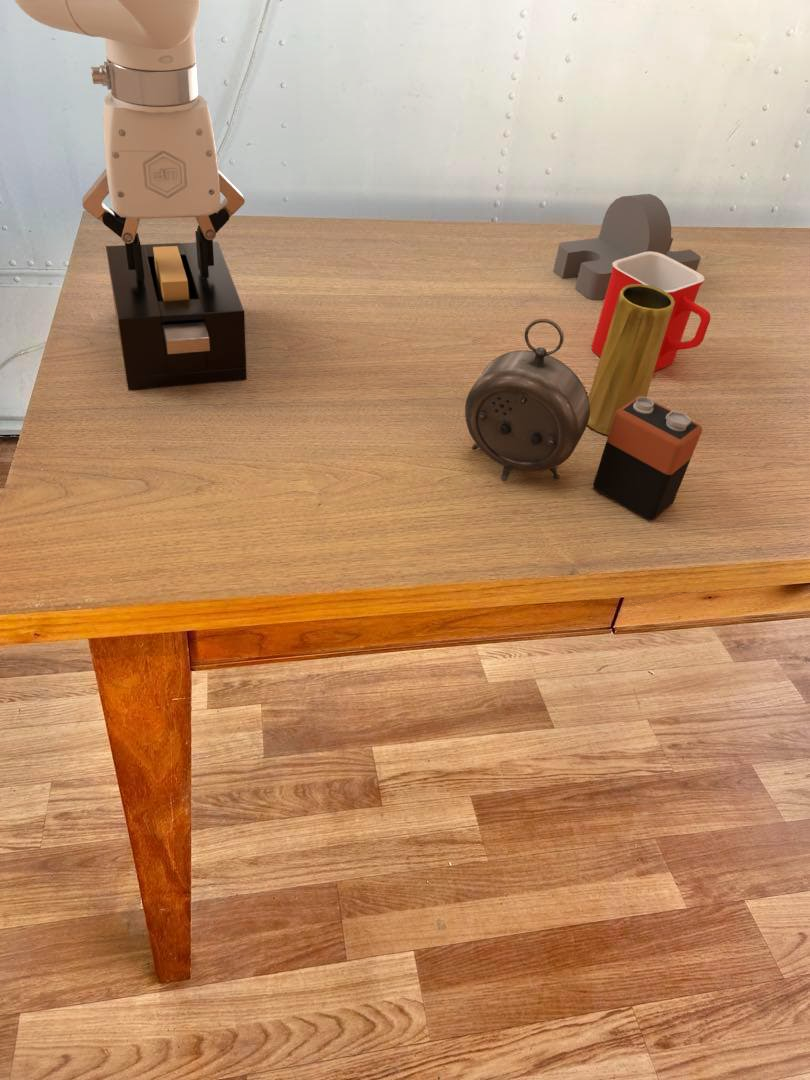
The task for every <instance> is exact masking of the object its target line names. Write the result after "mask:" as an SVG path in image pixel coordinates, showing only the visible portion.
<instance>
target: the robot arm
mask: <svg viewBox="0 0 810 1080" xmlns="http://www.w3.org/2000/svg"><path fill="white" fill-rule="evenodd" d="M13 1H14V2H15V3H16V5H17V6H18V7H19V8H20V9H21V11H23V12H24V13H25V14H26V15H27V16H29V18H31V19H33V20H34V21H36V22H37V23H40V24H42V25H44V26H47V27H50V28H52V29H55V30H58V31H59V30H60V31H63V32H64V31H65V32H68V33H72V34H73V33H74V34H79V35H83V36H88V37H92V38H93V37H94V38H102V39H104V44H105V53H106V61H103V64H101V65H99V66H90V71H91V72H90V73H91V78H92V79H91V80H92V84H93V85H101V86H102V87H107V90H110V91H111V92H108V93H107V94H106V95H105V96H104V102H103V114H102V115H103V116H102V124H103V125H102V126H103V151H104V162H105V169H104V170H103V172H102V173H101V174H100V175H99V177H97V179H96V180H95V181H94V183H93V184H92V185H91V187H90V188H88V190H87V191H86V192H85V194H84V195H83V197H82V198H81V205H82V207H83V209H84V210H85V211H87V212H88V213H89V214H91V216H93V217H94V218H95V219H97V220H99V221H101V222H102V223H103V225H104V226H106V227H107V228H108V229H109V230H110V231H112V232H113V233H114V234H115V235H116V236H118V237H119V238H120V239H121V241H122V242H123V243H124V245H125V249H126V257H127V264H128V270H135V272H136V276H137V281H143V280H145V278H144V269H143V261H142V252H141V245H142V244H141V240H140V236H139V233H138V232H137V231H138V227H139V225H140V221H141V220H151V219H152V220H153V219H179V218H181V219H182V218H184V219H185V218H195V220H196V221H197V222H196V223H197V224H198V225H197V228H196V230H195V231H194V233H195V242H196V248H197V262H198V267H199V270H200V273H201V276H202V277H204V278H209V270H208V266H214V255H213V242H214V241H213V240H214V239H216V237H217V233H219V232H220V230H221V229H223V227H224V226H225V225H226V224H227V223H228V221H229V220H230V218H231V217H232V215H234V214H235V213H237V212H238V210H240V208H241V207H243V206H244V204H245V200H246V199H245V198H244V195H243V194H242V192H241V191H240V190H239V189H238V188H237V187H236V186H235V185H234V184H233V183H232V182H231V180H229V179H228V178H227V177H226V176H225V175H224V174H223V173H222V172H221V171H220V170H219V165H218V154H217V147H216V139H215V133H214V125H213V121H212V117H211V112H210V108H209V104H208V102H207V100H206V99H205V98H204V96H202V95H201V94H199V87H198V73H197V72H198V71H197V70H198V69H197V57H196V56H197V55H196V40H195V28H196V27H197V22H198V20H199V17H200V10H201V0H13ZM108 195H109V199H110V203H111V206H112V208H110V207H108V206H107V205H106V204H105V203H104V202H103V201H104V200H105V199H106V197H107V196H108ZM221 195H223V196H224V199H223V200H222V201H221Z"/></svg>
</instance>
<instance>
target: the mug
mask: <svg viewBox="0 0 810 1080" xmlns="http://www.w3.org/2000/svg"><path fill="white" fill-rule="evenodd" d="M705 280H706V278H705V276H704V275H703V274H702V273H700V272H698V270H697V271H695V270H693V269H691V268H689V267H687V266H685V265H683V264H681V263H679V262H677V261H675V260H673V259H671V258H670V257H668V256H666V255H663V254H661V253H658V252H651V251H649V252H643V253H639V254H636V255H633V256H629V257H626V258H623V259H619V260H616V261H614V262H613V263H612V274H611V278H610V282H609V285H608V289H607V293H606V296H605V299H603V304H602V307H601V310H600V315H599V319H598V322H597V325H596V329H595V333H594V336H593V340H592V343H591V351H592V352H593V353H594V354H595V355H597V356H598V357H599V358H600V357H601V354H602V351H603V348H604V345H605V342H606V339H607V335H608V331H609V328H610V324H611V321H612V317H613V314H614V311H615V307H616V304H617V301H618V298H619V294H620V292H621V290H622V289H623V288H624V287H626V286H628V285H633V284H644V285H650V286H653V287H656V288H659V289H662V290H663V291H665V292H667V293H668V294H670V295H671V296H672V297H673V299H674V302H675V303H674V307H673V311H672V314H671V317H670V320H669V323H668V326H667V329H666V332H665V335H664V338H663V342H662V345H661V348H660V351H659V355H658V358H657V362H656V365H655V369H654V372H657V371H658V370H661V369H663V368H666V367H669V366H671V365H672V364H673V363H674V361H675V358H676V355H677V352H678V351H683V350H690V349H693V348H696V347H699V346H700V345H701V344H702V343H703V341H704V339H705V337H706V336H705V335H706V333H707V331H708V328H709V325H710V322H711V314H710V312H709V311H708V310H707V308H704V307H702V306H700V305H699V304H697V303H696V298H697V296H698V293H699V290H700V288H701V286H702V285H703V283H704V282H705ZM691 313H694V314H696V315H698V317H699V318H700V321H699V324H698V327H697V330H696V332H695V335H694V336H693V338H692V339H691V340H686V341H682V339H683V336H684V332H685V330H686V327H687V325H688V322H689V319H690V316H691Z"/></svg>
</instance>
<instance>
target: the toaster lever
mask: <svg viewBox="0 0 810 1080" xmlns="http://www.w3.org/2000/svg"><path fill="white" fill-rule="evenodd" d="M163 333H164V340H165V345H166V349H167V353H168V354H176V353H189V352H202V351H210V342H209V335H208V332H207V329H206V326H205V323H204V322H199V323H185V324H170V325H163Z"/></svg>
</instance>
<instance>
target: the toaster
mask: <svg viewBox="0 0 810 1080" xmlns="http://www.w3.org/2000/svg"><path fill="white" fill-rule="evenodd" d="M166 246H177V247H178V250H179V253H180V257H181V260H182V263H183V267H184V270H185V273H186V277H187V280H188V290H189V300H175V301H159V299H158V290H157V280H156V271H155V261H154V252H153V247H166ZM105 251H106V258H107V265H108V271H109V278H110V284H111V286H110V287H111V293H112V298H113V305H114V313H115V319H116V324H117V331H118V337H119V342H120V349H121V355H122V360H123V361H122V362H123V366H124V372H125V373H124V374H125V379H126V385H127V390H128V391H135V390H147V389H157V388H168V387H180V386H189V385H190V386H191V385H201V384H203V385H204V384H214V383H224V382H235V381H247V349H246V348H247V345H246V322H245V321H246V318H245V317H246V315H245V308H244V306H243V304H242V301H241V298H240V295H239V293H238V291H237V287H236V286H235V282H234V280H233V277H232V275H231V272H230V269H229V267H228V264H227V262H226V257H225V256H224V253H223V251H222V247H221V246H220V242H219V241H218V240H217V241H213V255H214V266H208V270H209V278H204V277H202V276H201V273H200V270H199V267H198V262H197V248H196V241H195V242H171V243H148V244H141V252H142V261H143V269H144V278H145V280H143V281H137V276H136V272H135V270H128V264H127V257H126V249H125V244H124V245H106V246H105ZM199 322H204V323H205V326H206V329H207V332H208V335H209V342H210V351H202V352H189V353H176V354H168V353H167V349H166V345H165V340H164V333H163V325H170V324H185V323H199Z"/></svg>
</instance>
